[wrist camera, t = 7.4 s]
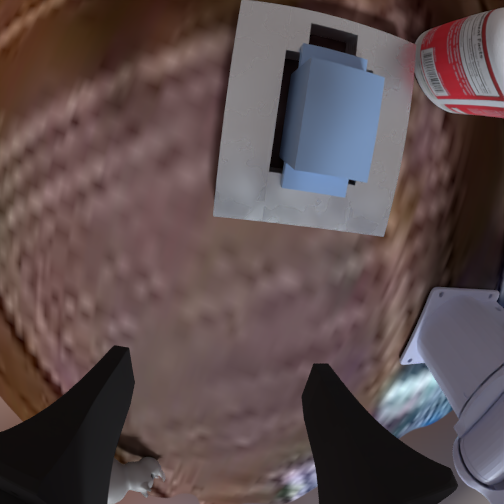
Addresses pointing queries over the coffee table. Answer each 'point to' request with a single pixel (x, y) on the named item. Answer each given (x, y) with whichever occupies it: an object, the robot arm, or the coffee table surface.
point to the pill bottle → (464, 64)
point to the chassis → (265, 113)
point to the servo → (329, 122)
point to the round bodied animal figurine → (133, 477)
